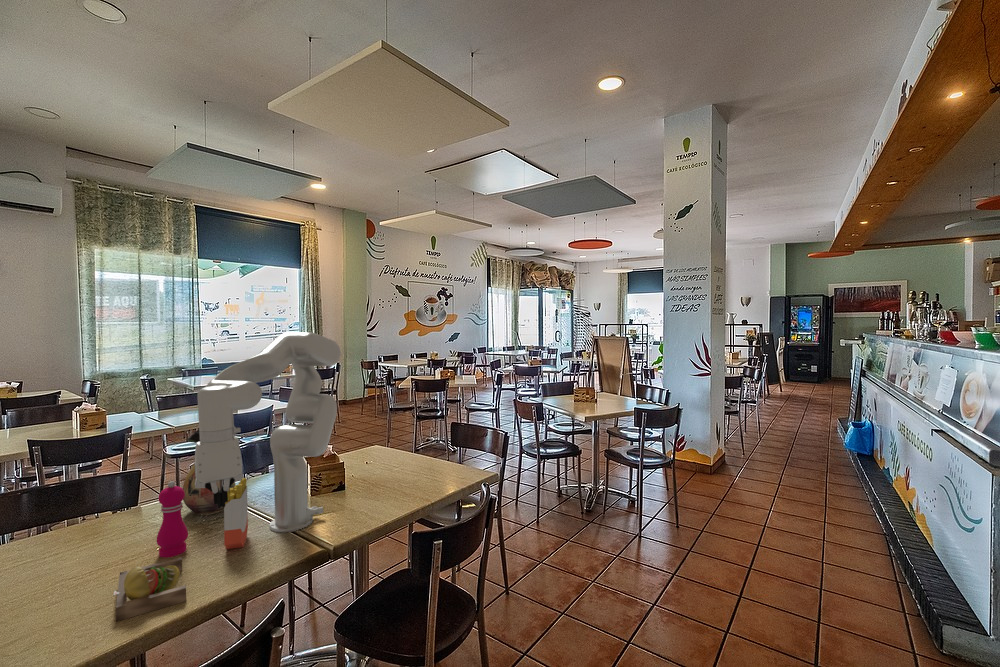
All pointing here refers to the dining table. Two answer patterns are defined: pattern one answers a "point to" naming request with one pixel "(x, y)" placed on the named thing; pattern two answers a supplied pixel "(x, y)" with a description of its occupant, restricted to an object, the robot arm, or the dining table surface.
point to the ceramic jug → (199, 490)
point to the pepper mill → (172, 522)
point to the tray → (150, 601)
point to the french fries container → (236, 516)
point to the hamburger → (149, 581)
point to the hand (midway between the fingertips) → (221, 505)
